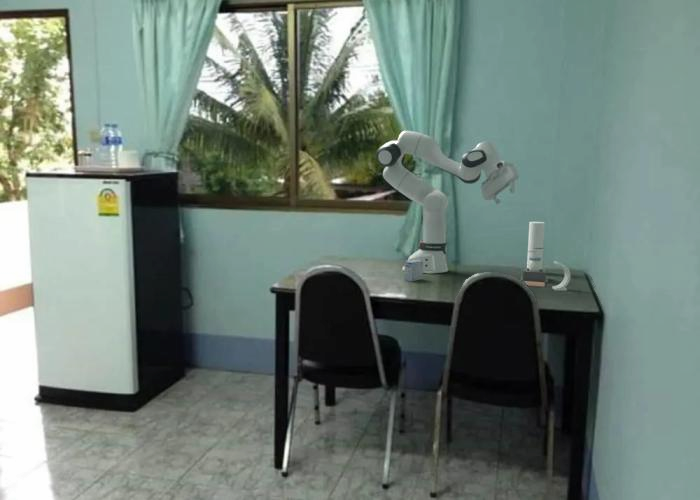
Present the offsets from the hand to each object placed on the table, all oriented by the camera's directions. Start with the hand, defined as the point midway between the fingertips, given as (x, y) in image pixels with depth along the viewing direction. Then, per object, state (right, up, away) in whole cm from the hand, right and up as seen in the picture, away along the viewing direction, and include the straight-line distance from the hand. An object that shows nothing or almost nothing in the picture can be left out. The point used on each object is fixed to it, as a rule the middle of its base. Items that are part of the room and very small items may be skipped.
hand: (505, 197), depth 279 cm
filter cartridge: (+15, -37, +7) cm, 41 cm away
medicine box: (-42, -38, +3) cm, 56 cm away
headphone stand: (+20, -41, -14) cm, 48 cm away
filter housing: (+15, -38, +7) cm, 41 cm away
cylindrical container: (+20, -35, +25) cm, 48 cm away
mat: (+12, -39, -4) cm, 41 cm away
